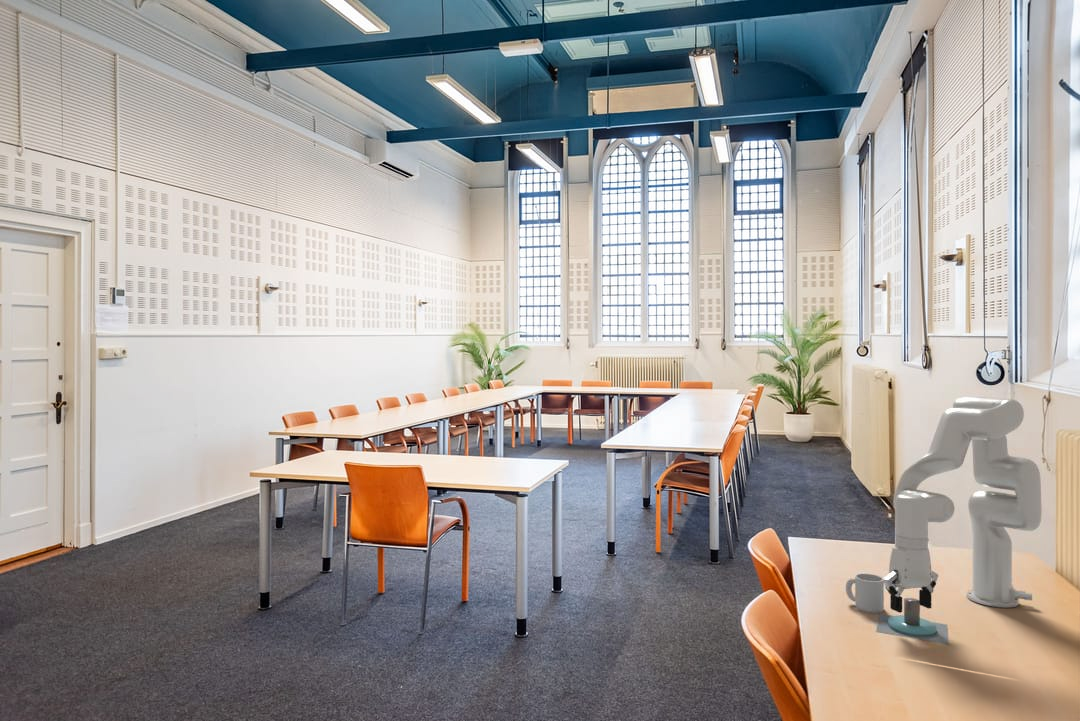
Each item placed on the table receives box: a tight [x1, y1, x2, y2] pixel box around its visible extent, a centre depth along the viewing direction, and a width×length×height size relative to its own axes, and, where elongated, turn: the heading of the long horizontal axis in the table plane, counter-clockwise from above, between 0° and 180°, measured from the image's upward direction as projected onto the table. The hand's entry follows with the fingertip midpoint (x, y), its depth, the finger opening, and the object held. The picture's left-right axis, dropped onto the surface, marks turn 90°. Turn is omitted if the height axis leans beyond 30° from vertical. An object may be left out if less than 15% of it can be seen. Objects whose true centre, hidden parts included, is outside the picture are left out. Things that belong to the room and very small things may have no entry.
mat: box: [875, 613, 950, 645], centre depth 177 cm, size 16×14×1 cm
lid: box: [888, 597, 936, 637], centre depth 177 cm, size 11×11×7 cm
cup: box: [845, 573, 885, 614], centre depth 192 cm, size 7×10×9 cm
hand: (910, 608), depth 176 cm, fingers open, 9 cm apart
